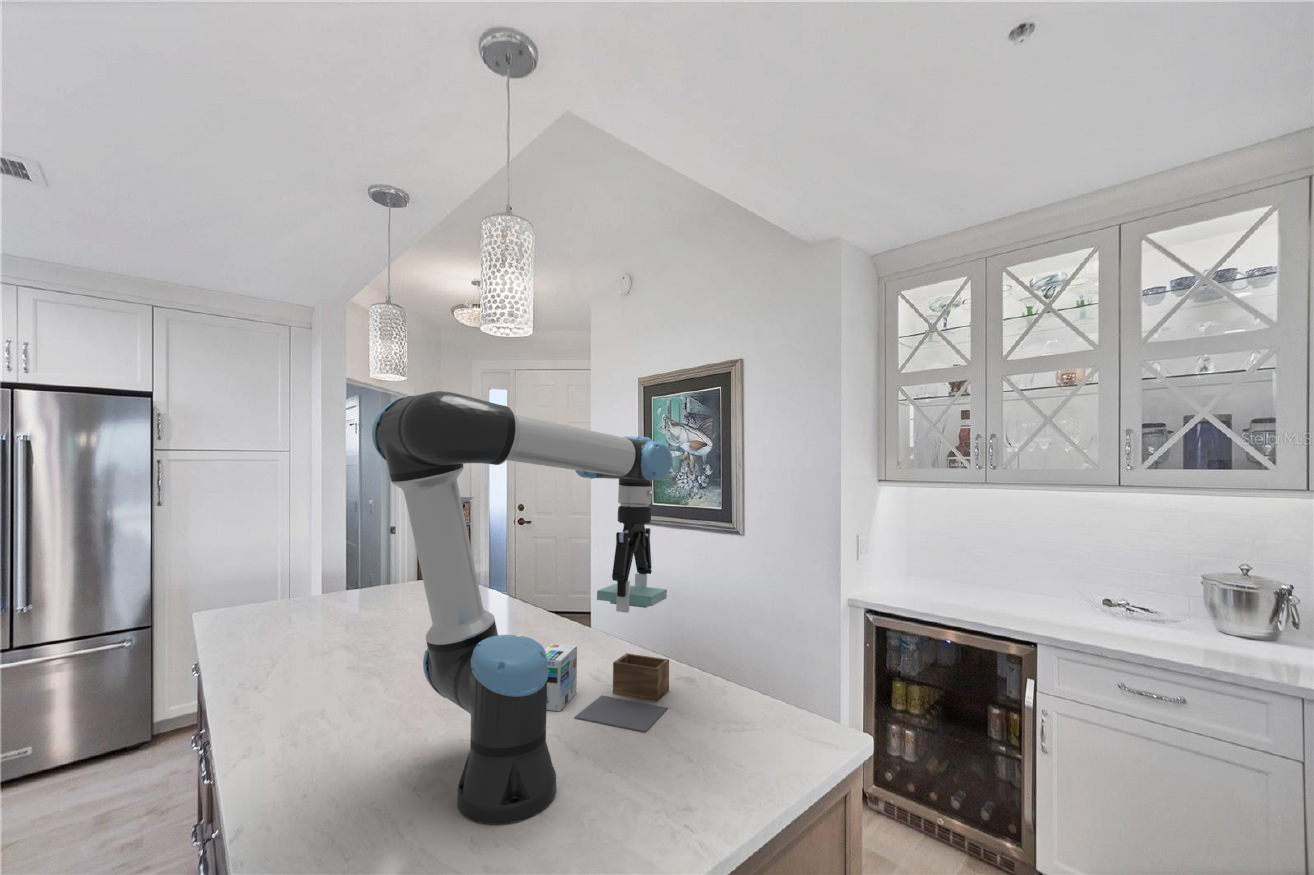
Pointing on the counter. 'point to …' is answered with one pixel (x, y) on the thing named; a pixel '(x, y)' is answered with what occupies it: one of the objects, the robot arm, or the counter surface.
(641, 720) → the mat
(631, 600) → the lid
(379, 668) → the counter surface
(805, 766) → the counter surface
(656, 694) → the box
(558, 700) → the light bulb box
